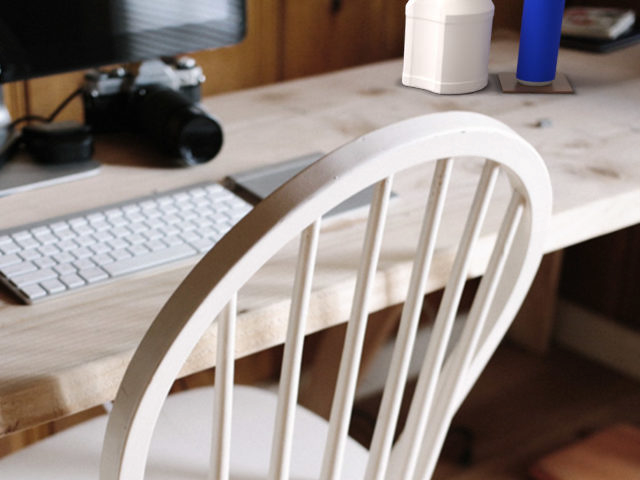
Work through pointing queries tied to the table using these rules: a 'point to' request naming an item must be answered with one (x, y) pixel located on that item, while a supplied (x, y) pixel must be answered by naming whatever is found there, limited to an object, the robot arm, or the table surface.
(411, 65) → the jar
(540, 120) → the table surface
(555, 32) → the beverage can
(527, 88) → the coaster
